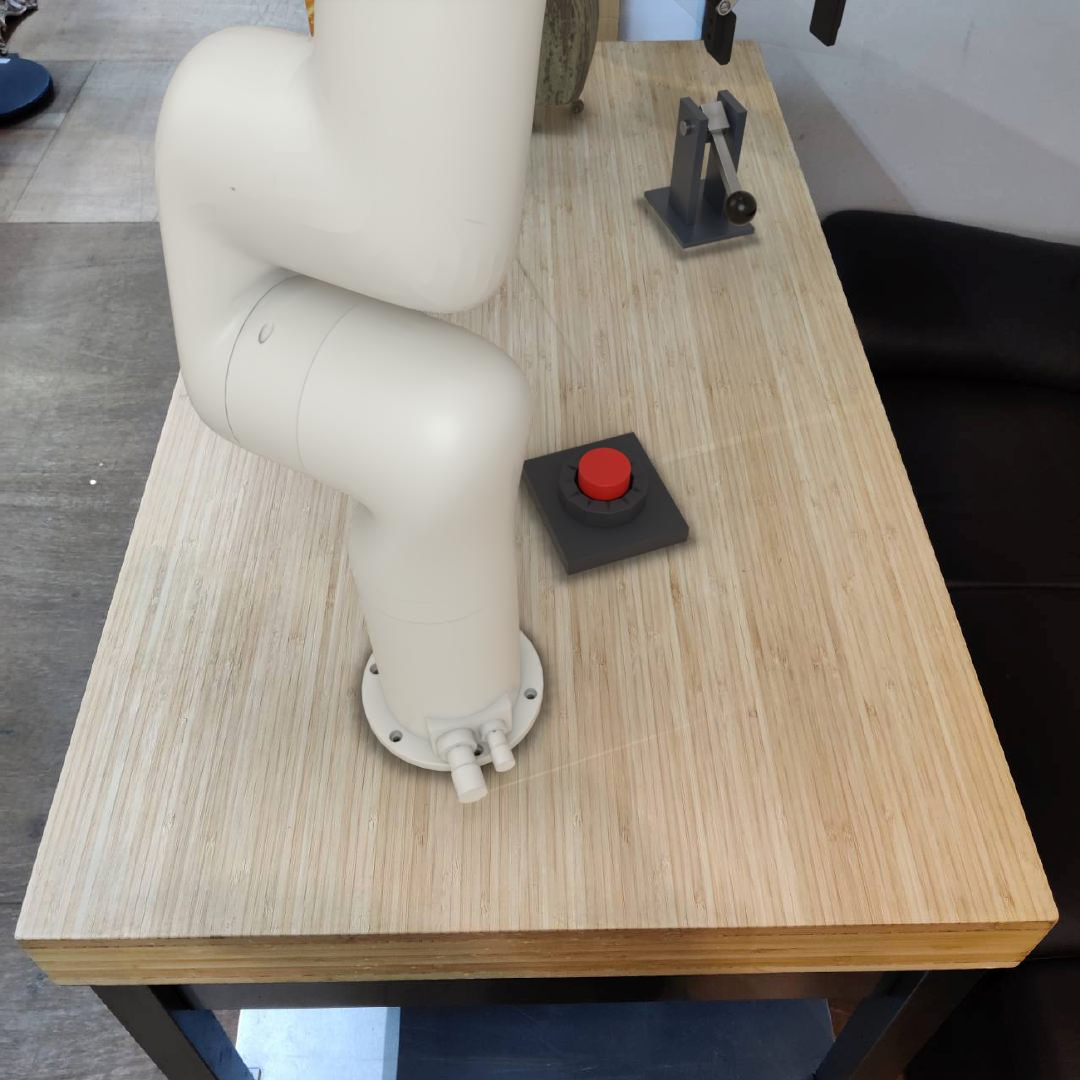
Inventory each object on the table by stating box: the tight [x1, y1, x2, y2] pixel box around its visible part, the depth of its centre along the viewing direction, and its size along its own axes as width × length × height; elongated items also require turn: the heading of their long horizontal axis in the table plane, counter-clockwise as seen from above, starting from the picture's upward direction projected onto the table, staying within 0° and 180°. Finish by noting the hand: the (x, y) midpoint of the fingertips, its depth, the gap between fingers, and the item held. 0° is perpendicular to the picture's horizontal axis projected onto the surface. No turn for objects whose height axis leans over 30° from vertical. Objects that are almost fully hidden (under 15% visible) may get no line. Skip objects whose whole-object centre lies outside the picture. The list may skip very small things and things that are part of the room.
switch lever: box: [698, 100, 758, 226], centre depth 94 cm, size 12×3×3 cm, turn 20°
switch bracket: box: [643, 89, 756, 249], centre depth 98 cm, size 10×8×13 cm
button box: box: [521, 431, 690, 576], centre depth 78 cm, size 11×10×4 cm
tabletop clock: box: [532, 0, 600, 128], centre depth 106 cm, size 14×9×25 cm, turn 80°
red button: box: [578, 448, 631, 501], centre depth 76 cm, size 4×4×2 cm
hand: (769, 48), depth 81 cm, fingers open, 9 cm apart
